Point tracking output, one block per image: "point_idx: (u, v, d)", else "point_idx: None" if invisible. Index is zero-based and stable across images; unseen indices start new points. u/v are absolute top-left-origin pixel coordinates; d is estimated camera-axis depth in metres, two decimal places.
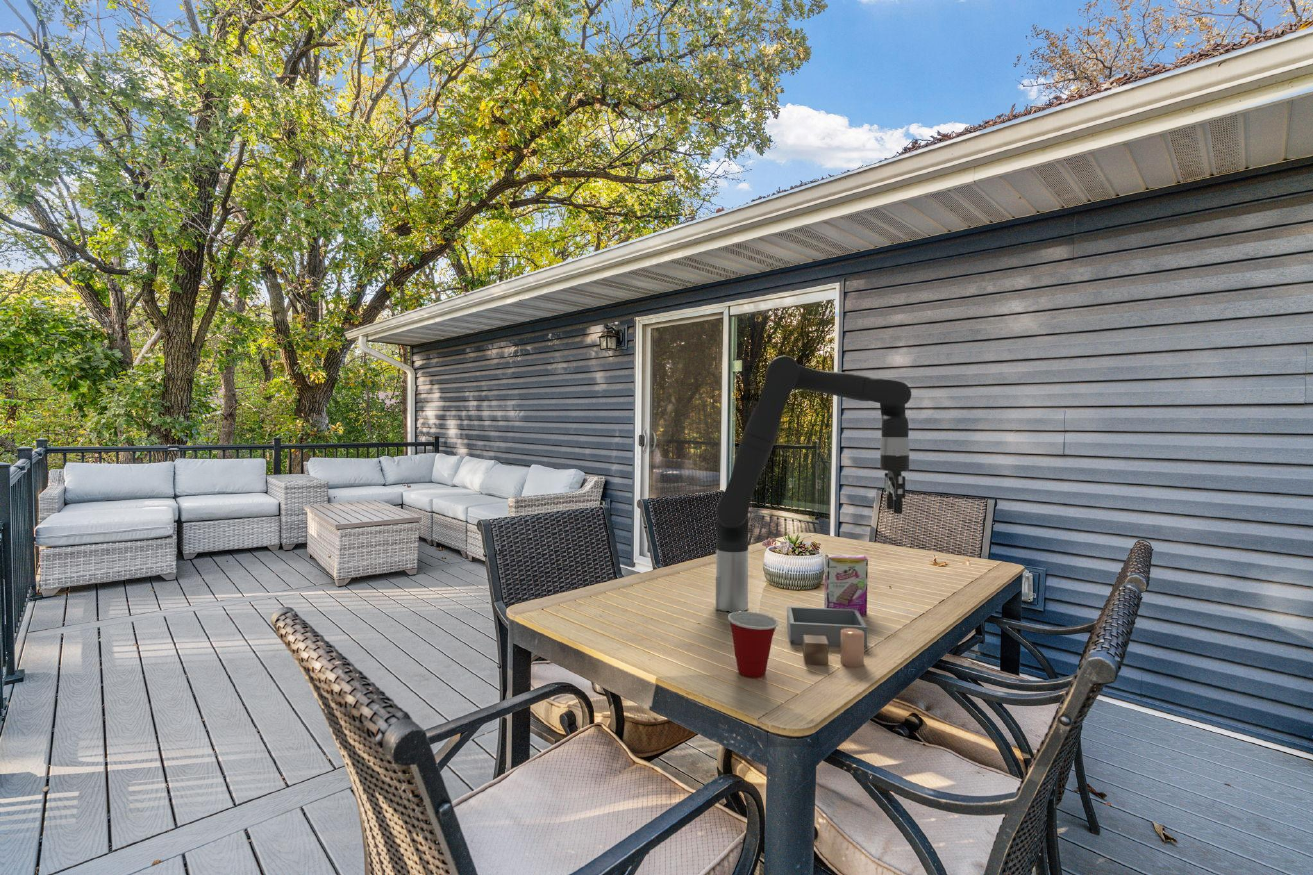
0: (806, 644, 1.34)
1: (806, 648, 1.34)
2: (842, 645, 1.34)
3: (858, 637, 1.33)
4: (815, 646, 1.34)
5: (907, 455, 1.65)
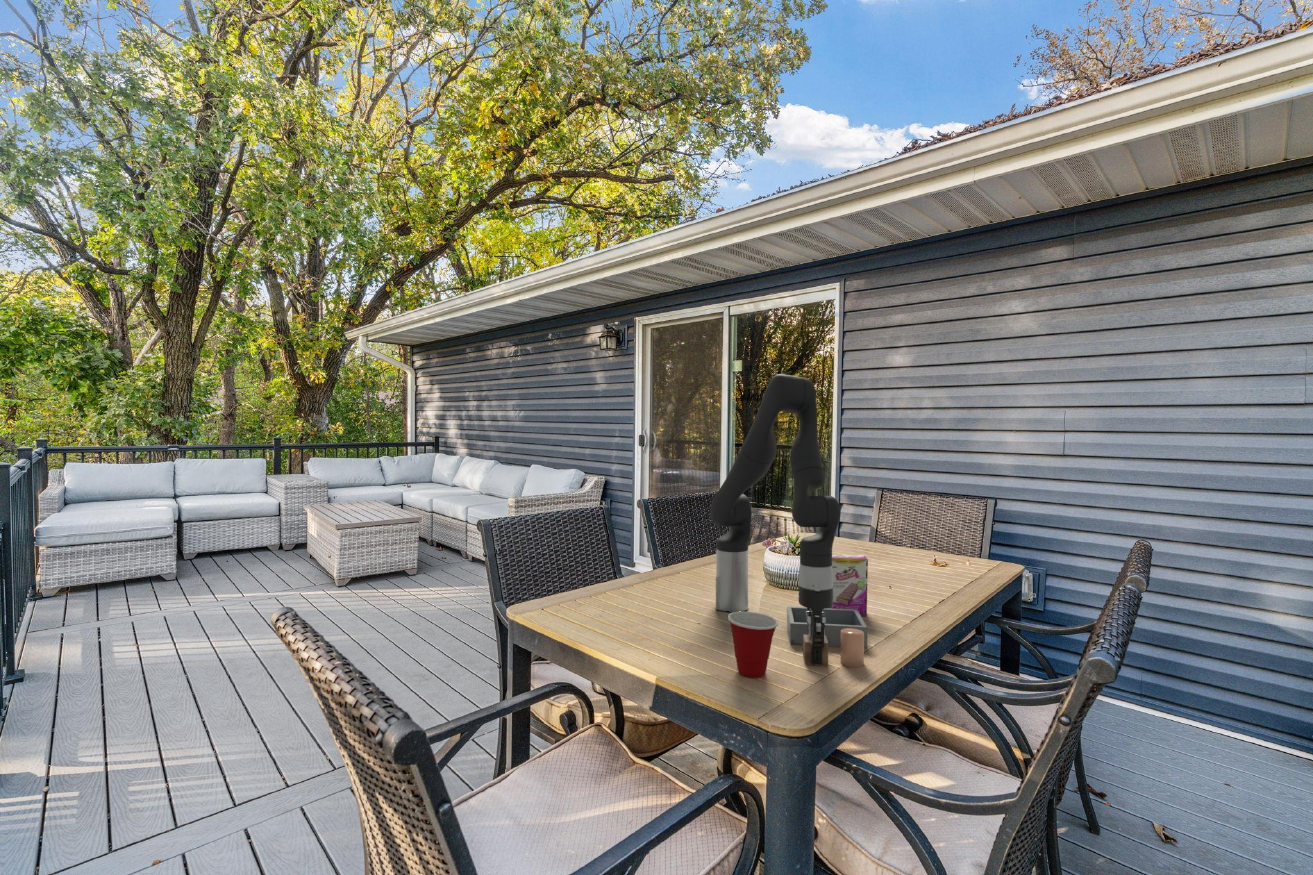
0: (806, 643, 1.34)
1: (806, 647, 1.34)
2: (842, 645, 1.34)
3: (858, 637, 1.33)
4: None
5: (829, 589, 1.33)
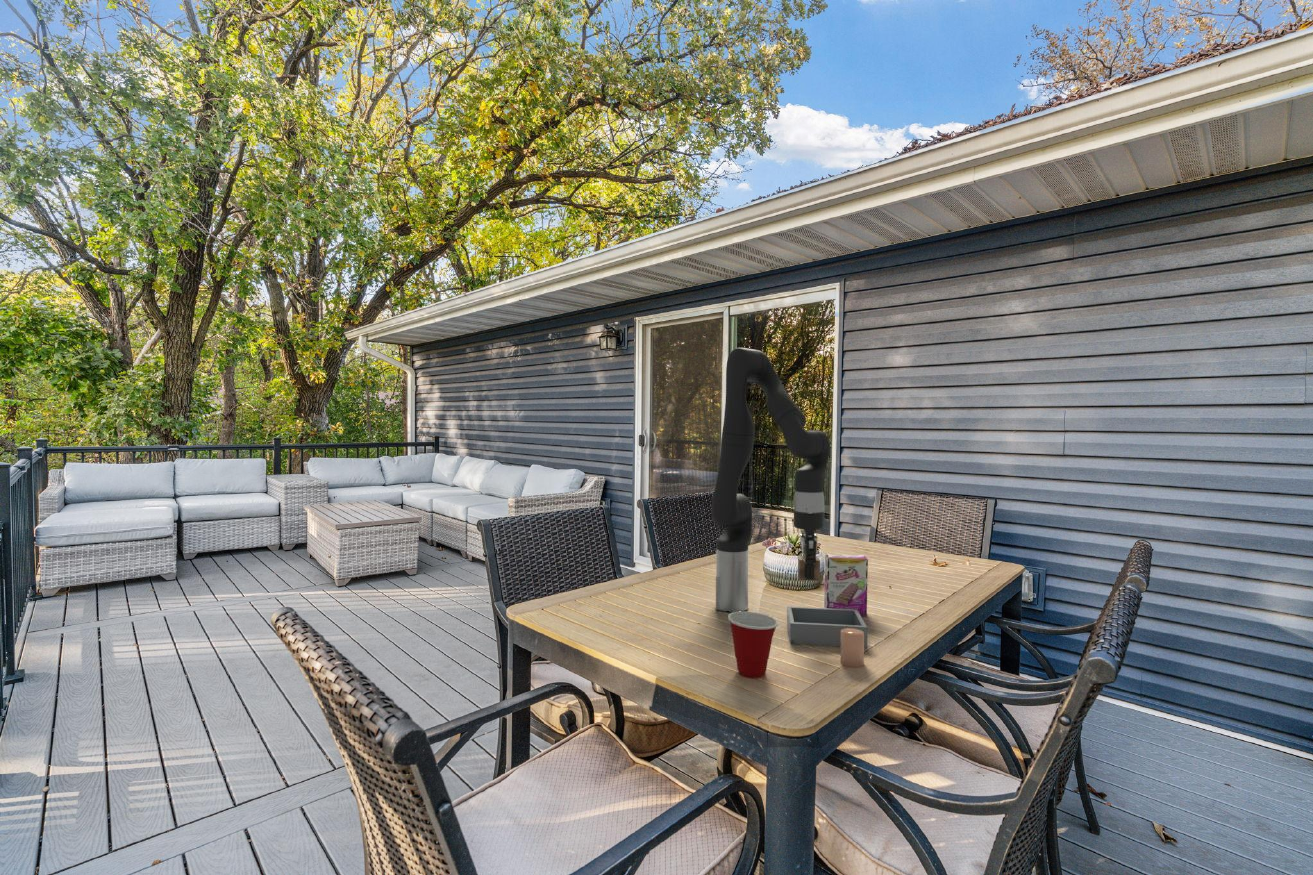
0: (800, 561, 1.51)
1: (800, 565, 1.51)
2: (842, 645, 1.34)
3: (858, 637, 1.33)
4: None
5: (821, 512, 1.50)
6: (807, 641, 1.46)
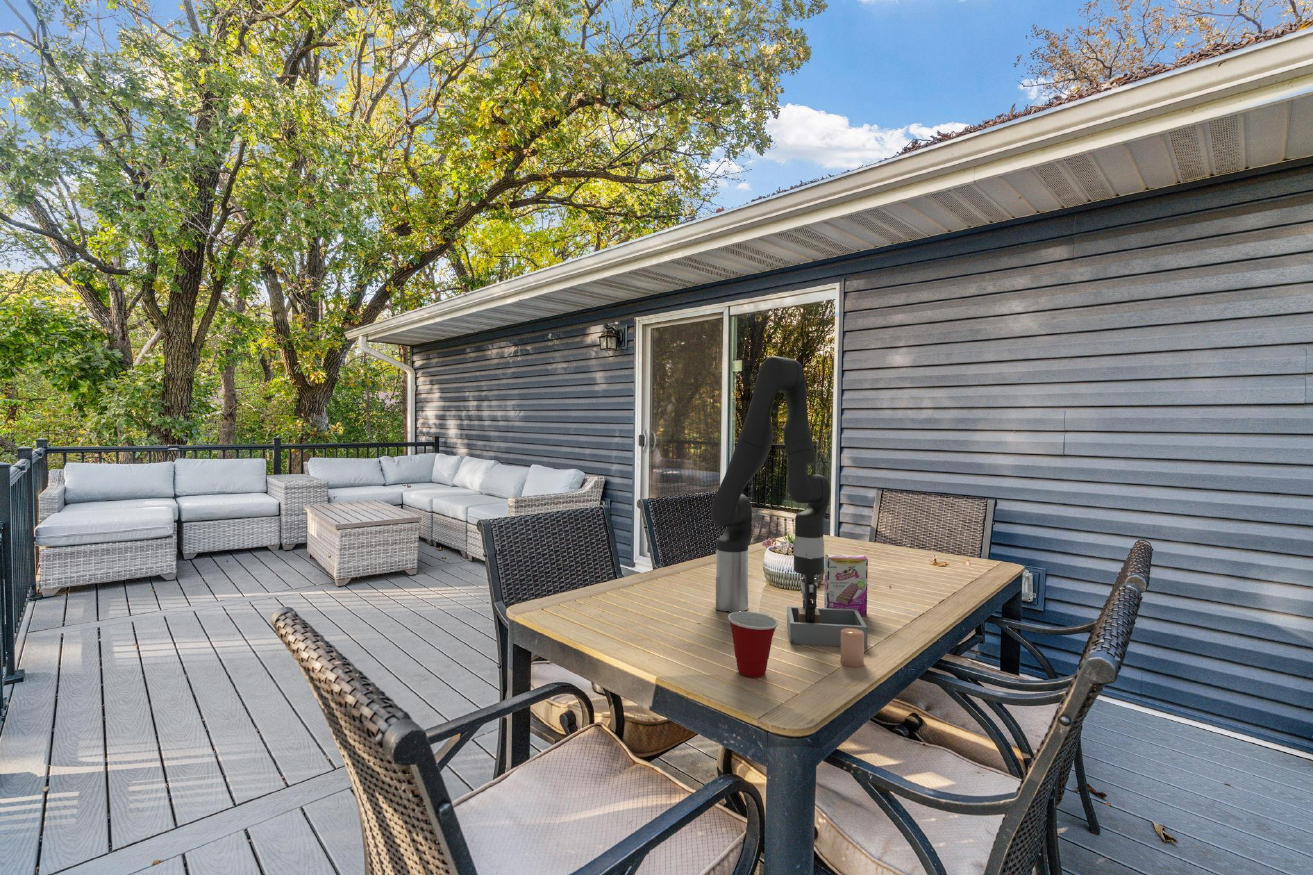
0: (800, 615, 1.51)
1: (800, 619, 1.51)
2: (842, 645, 1.34)
3: (858, 637, 1.33)
4: None
5: (821, 557, 1.50)
6: (807, 641, 1.46)
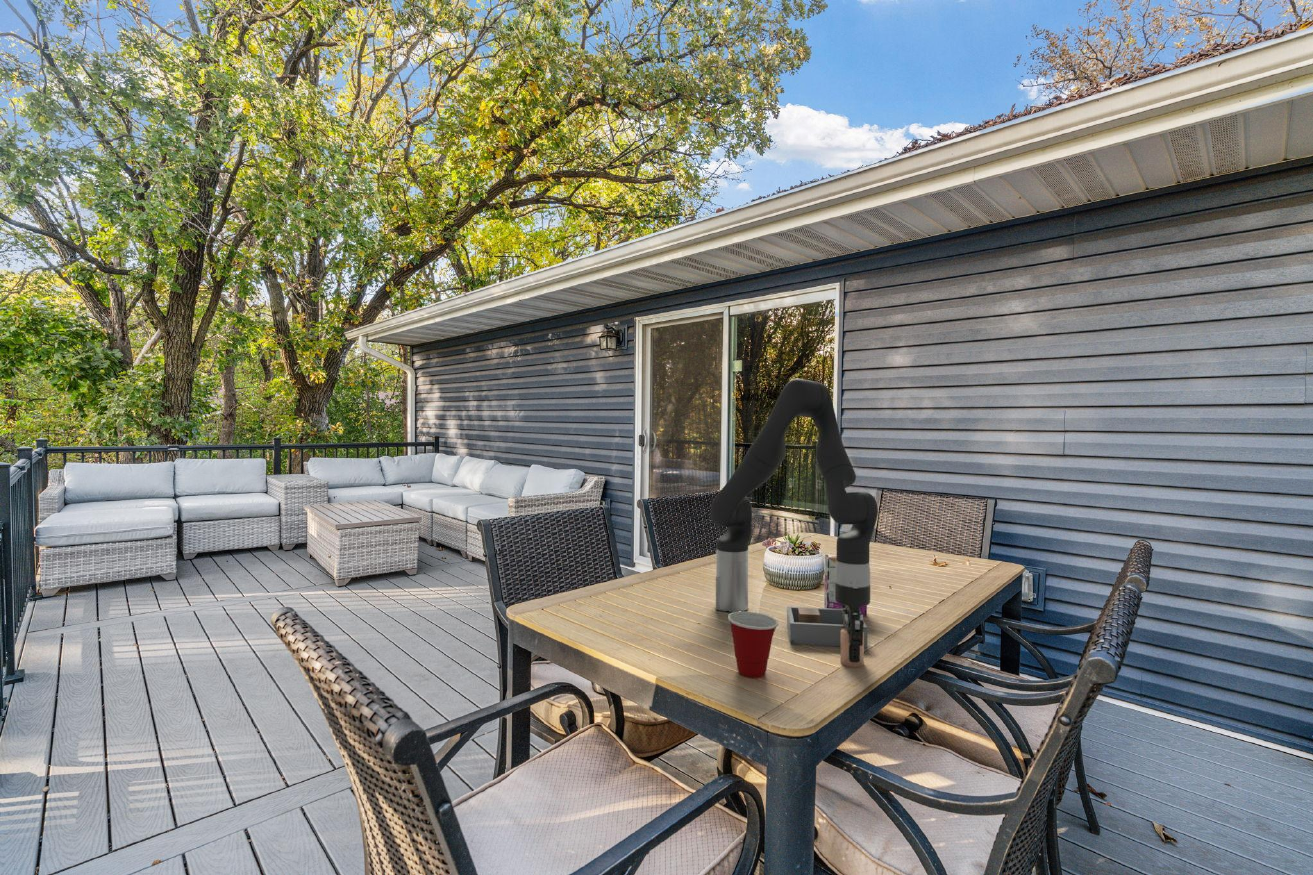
0: (800, 615, 1.51)
1: (800, 619, 1.51)
2: (842, 645, 1.34)
3: None
4: (809, 616, 1.51)
5: (867, 586, 1.32)
6: (807, 641, 1.46)
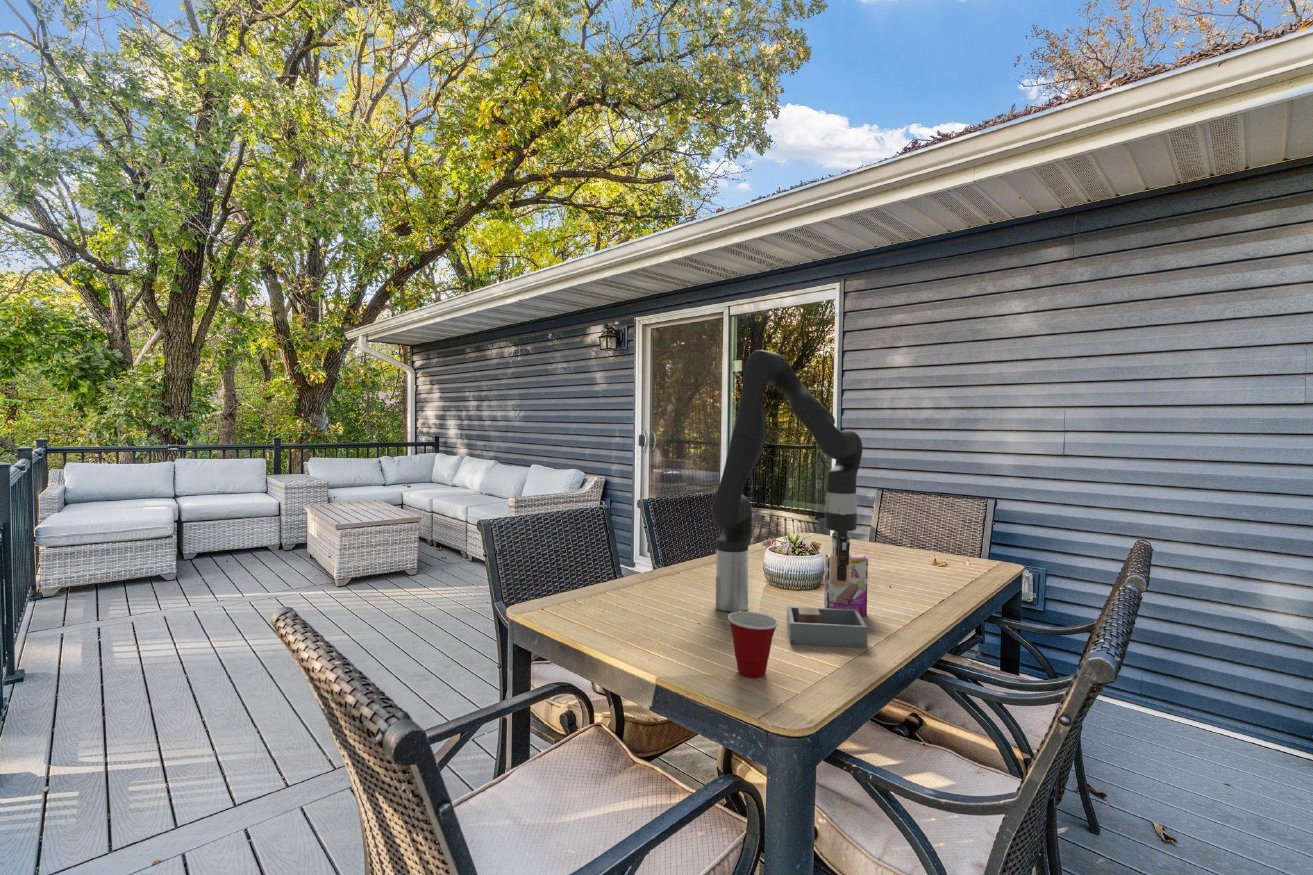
0: (800, 615, 1.51)
1: (800, 619, 1.51)
2: (831, 567, 1.51)
3: None
4: (809, 616, 1.51)
5: (854, 513, 1.48)
6: (807, 641, 1.46)
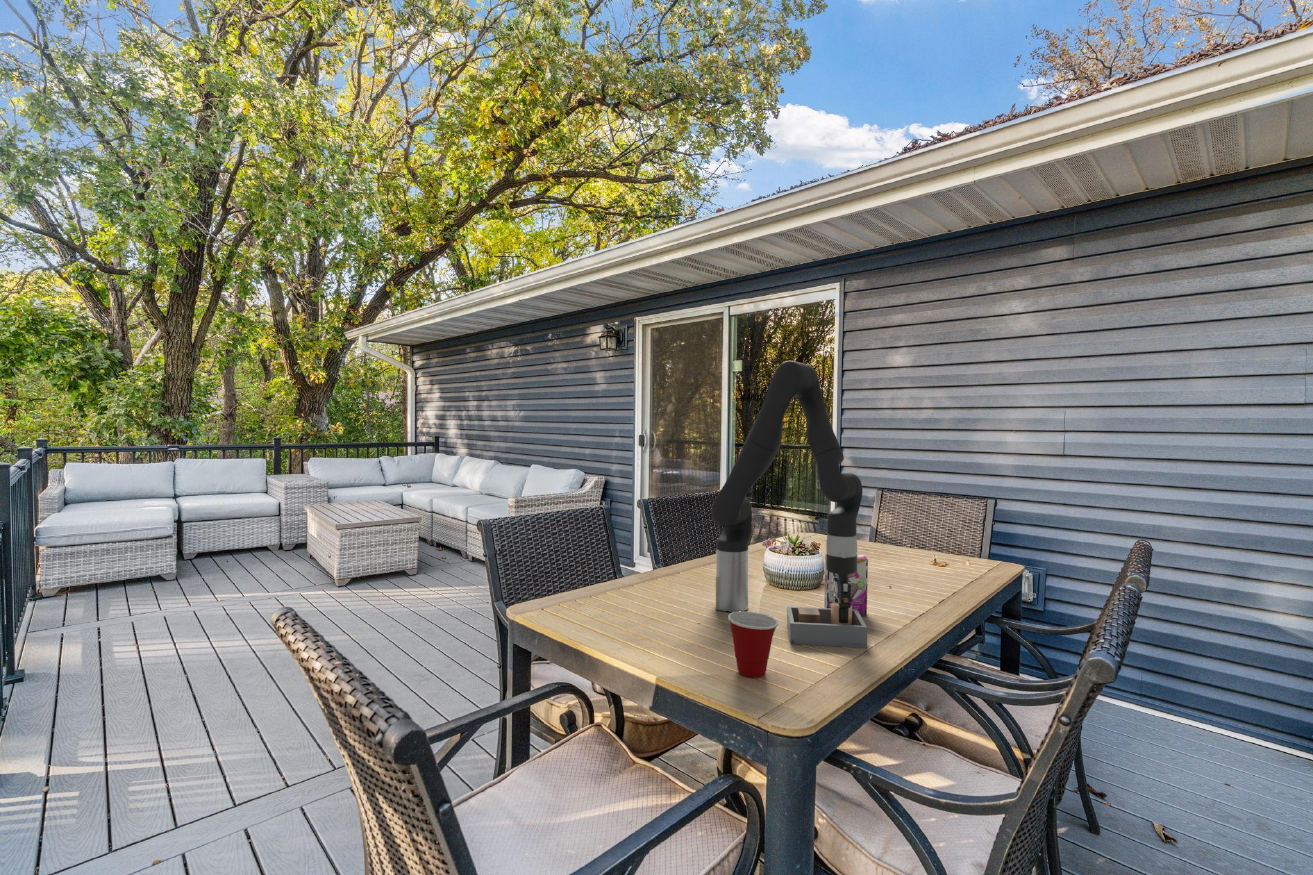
0: (800, 615, 1.51)
1: (800, 619, 1.51)
2: (832, 616, 1.51)
3: None
4: (809, 616, 1.51)
5: (854, 556, 1.49)
6: (807, 641, 1.46)
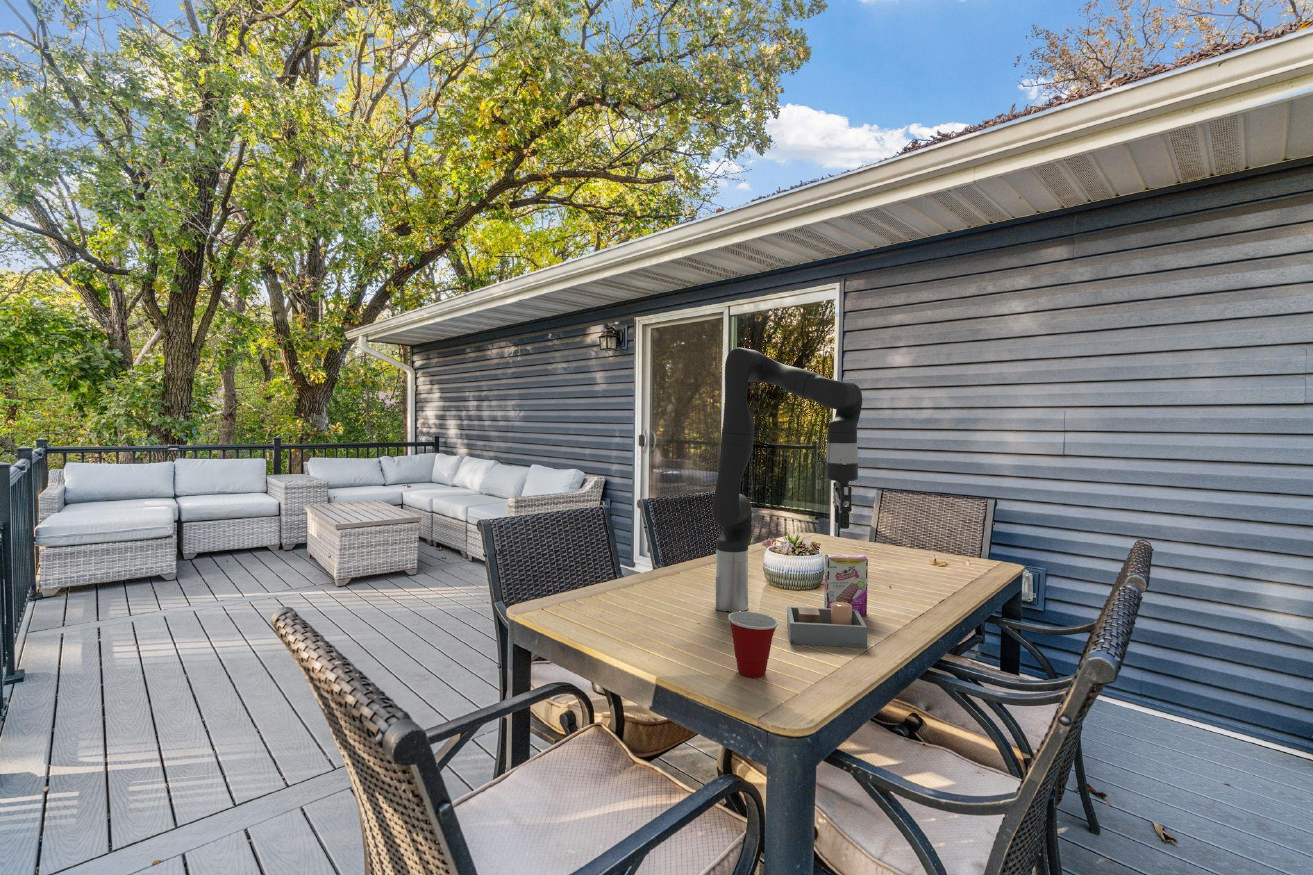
0: (800, 615, 1.51)
1: (800, 619, 1.51)
2: (832, 616, 1.51)
3: (846, 609, 1.49)
4: (809, 616, 1.51)
5: (855, 463, 1.48)
6: (807, 641, 1.46)
